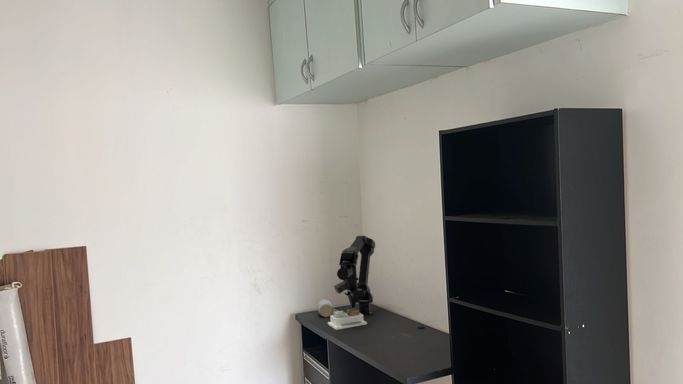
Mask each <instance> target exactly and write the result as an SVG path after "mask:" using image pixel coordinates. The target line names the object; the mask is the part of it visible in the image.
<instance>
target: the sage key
mask: <svg viewBox="0 0 683 384" xmlns="http://www.w3.org/2000/svg"><path fill="white" fill-rule="evenodd" d="M346 313H347V311H346V312H345V311H344V310H338V311H337V312H334V314H333V315H334V317H335V318H342V317H346Z"/></svg>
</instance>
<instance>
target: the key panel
mask: <svg viewBox="0 0 683 384" xmlns="http://www.w3.org/2000/svg"><path fill="white" fill-rule="evenodd" d="M329 317H330V321H328V322H327V325H328V326H329V327H331V328H333V329H334V330H336V331H338V330H343V329H349V328H353V327H359V326H365V325H368V322H367V321H366V320H364V316H363V314H361V313H359V315H354V316H349V315H348V314H347V312H346V317H342V318H335V317H334V314H331V315H330V316H329Z"/></svg>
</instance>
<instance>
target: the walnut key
mask: <svg viewBox="0 0 683 384" xmlns="http://www.w3.org/2000/svg"><path fill="white" fill-rule="evenodd" d="M346 310H347V311H346V313H347V314H348V315H349V316H354V315H359V309H357V308H356V307H354V308H351V309H350V308H349V309H346Z"/></svg>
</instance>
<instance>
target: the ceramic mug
mask: <svg viewBox="0 0 683 384" xmlns="http://www.w3.org/2000/svg"><path fill="white" fill-rule="evenodd" d="M317 310H318V313H319V315H320V316H322V317H324V318H329V317H330V316H331V315H334V312H337V311H339V310H337V309H335V307H334V306H333V304H332V302H331V301H330V300H328V299H321V300H320V301H319V302H318V303H317Z"/></svg>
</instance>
